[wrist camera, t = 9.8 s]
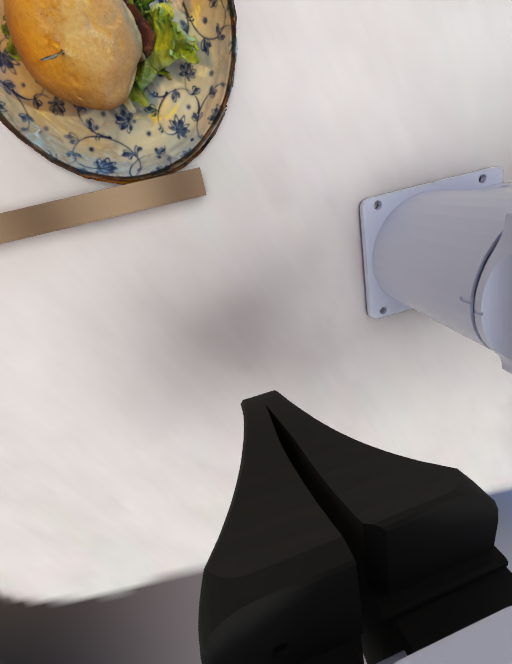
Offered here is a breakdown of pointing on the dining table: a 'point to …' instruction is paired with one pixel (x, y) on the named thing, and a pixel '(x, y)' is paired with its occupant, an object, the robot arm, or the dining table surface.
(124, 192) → the open wooden frame
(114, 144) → the burger
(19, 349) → the dining table surface
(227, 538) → the robot arm
